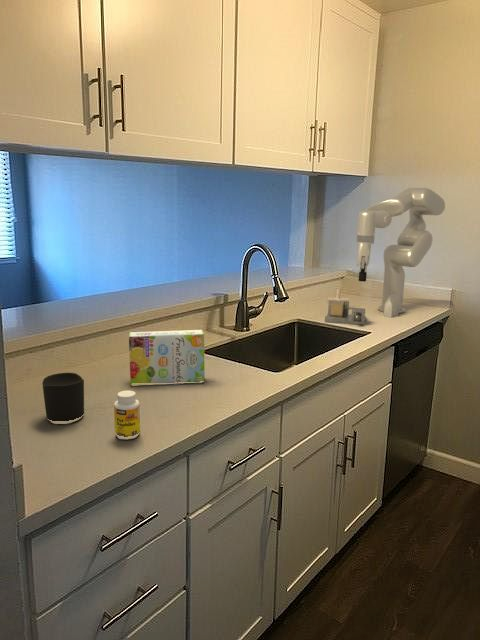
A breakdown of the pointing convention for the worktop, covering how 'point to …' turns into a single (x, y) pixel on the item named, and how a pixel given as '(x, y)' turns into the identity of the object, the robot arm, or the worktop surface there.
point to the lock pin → (358, 316)
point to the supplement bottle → (127, 414)
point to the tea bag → (391, 306)
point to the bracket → (346, 315)
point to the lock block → (337, 308)
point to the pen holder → (63, 396)
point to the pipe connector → (338, 297)
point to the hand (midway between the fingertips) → (362, 281)
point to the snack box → (166, 356)
